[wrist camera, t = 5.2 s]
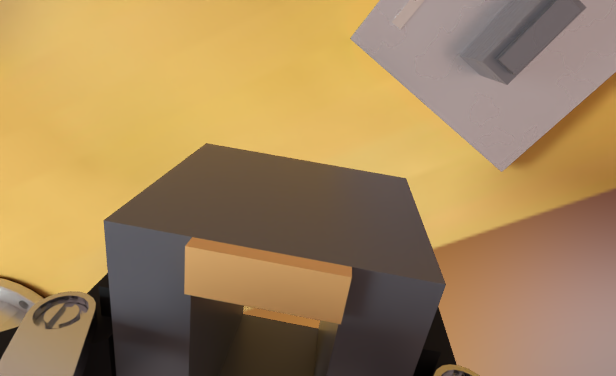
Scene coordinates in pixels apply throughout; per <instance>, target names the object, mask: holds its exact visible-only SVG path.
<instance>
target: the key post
mask: <svg viewBox="0 0 616 376" xmlns="http://www.w3.org/2000/svg"><path fill="white" fill-rule="evenodd" d="M350 39H351V40H352V41H353V42H355V43H356V44H357V45H358V46H359V47H360V48H361V49H363V50H364V51H365V52H366V53H367V54H368V55H369V56H371V57H372V58H373V59H374V60H375V61H376V62H377V63H378V64H380V65H381V66H382V67H383V68H384V69H385V70H386V71H388V72H389V73H390V74H391V75H392V76H393V77H394V78H396V79H397V80H398V81H399V82H400V83H401V84H402V85H403V86H405V87H406V88H407V89H408V90H409V91H410V92H411V93H413V94H414V95H415V96H416V97H417V98H418V99H419V100H421V101H422V102H423V103H424V104H425V105H426V106H427V107H428V108H430V109H431V110H432V111H433V112H434V113H435V114H436V115H438V116H439V117H440V118H441V119H442V120H443V121H444V122H446V123H447V124H448V125H449V126H450V127H451V128H452V129H453V130H455V131H456V132H457V133H458V134H459V135H460V136H461V137H463V138H464V139H465V140H466V141H467V142H468V143H469V144H471V145H472V146H473V147H474V148H475V149H476V150H477V151H478V152H480V153H481V154H482V155H483V156H484V157H485V158H486V159H488V160H489V161H490V162H491V163H492V164H493V165H494V166H495V167H497V168H498V169H499V170H500V171H501V172H502V171H503V170H504V169H506V168H507V167H508V166H509V165H510V164H511V163H512V162H514V161H515V160H516V159H517V158H518V157H519V156H520V155H522V154H523V153H524V152H525V151H526V150H527V149H528V148H529V147H531V146H532V145H533V144H534V143H535V142H536V141H537V140H539V139H540V138H541V137H542V136H543V135H544V134H545V133H547V132H548V131H549V130H550V129H551V128H552V127H553V126H555V125H556V124H557V123H558V122H559V121H560V120H561V119H563V118H564V117H565V116H566V115H567V114H568V113H569V112H571V111H572V110H573V109H574V108H575V107H576V106H577V105H579V104H580V103H581V102H582V101H583V100H584V99H585V98H587V97H588V96H589V95H590V94H591V93H592V92H593V91H594V90H596V89H597V88H598V87H599V86H600V85H601V84H602V83H604V82H605V81H606V80H607V79H608V78H609V77H610V76H612V75H613V74H614V73H615V72H616V0H380V1H379V2H378V3H377V5H376V6H375V7H374V9H373V10H372V11H371V12H370V14H369V15H368V16H367V18H366V19H365V20H364V21H363V23H362V24H361V25H360V26H359V28H358V29H357V30H356V32H355V33H354V34H353V35H352V37H351V38H350Z"/></svg>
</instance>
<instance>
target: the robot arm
mask: <svg viewBox="0 0 616 376" xmlns="http://www.w3.org/2000/svg"><path fill="white" fill-rule="evenodd" d="M0 376H116V365H115V352H114V340H113V328H112V316H111V303H110V291H109V279H108V273H107V274H106V275H105V276H104V277H103V278H102V279H101V280H100V281H99V282H98V283H97V284H96V285H95V286H94V287H93V288H92V289H91V290H90V291H89V292H88V293H87V294H86V293H82V292H71V291H70V292H63V293H58V294H55V295H51V296H49V297H47V298H43V297H41V296H40V295H38V294H37V293H35V292H34V291H32V290H30V289H28V288H26V287H24V286H22V285H20V284H18V283H15V282H12V281H9V280H6V279H1V278H0ZM413 376H479V375H478V374H476V373H475V372H473V371H471V370H469V369H467V368H464V367H462V366H459V365H456V361H455V358H454V355H453V352H452V349H451V346H450V342H449V339H448V337H447V333H446V330H445V327H444V324H443V320H442V317H441V314H440V311H439V308H437V310H436V313H435V316H434V319H433V321H432V324H431V327H430V330H429V332H428V335H427V338H426V341H425V343H424V346H423V349H422V352H421V354H420V357H419V360H418V363H417V366H416V368H415V371H414V374H413Z"/></svg>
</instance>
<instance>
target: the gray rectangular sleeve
mask: <svg viewBox="0 0 616 376" xmlns="http://www.w3.org/2000/svg"><path fill="white" fill-rule="evenodd" d="M104 230H105V242H106V255H107V267H108V279H109V291H110V303H111V316H112V328H113V340H114V352H115V365H116V376H413V374H414V371H415V368H416V366H417V363H418V360H419V357H420V354H421V352H422V349H423V346H424V343H425V341H426V338H427V335H428V332H429V330H430V327H431V324H432V321H433V319H434V316H435V313H436V310H437V308H438V305H439V302H440V299H441V297H442V294H443V291H444V288H445V285H446V284H445V281H444V279H443V276H442V273H441V270H440V268H439V265H438V262H437V260H436V257H435V254H434V252H433V249H432V246H431V244H430V241H429V238H428V236H427V233H426V230H425V228H424V225H423V223H422V220H421V217H420V215H419V212H418V209H417V207H416V204H415V201H414V199H413V196H412V193H411V191H410V188H409V185H408V183H407V180H406V178H400V177H395V176H389V175H383V174H378V173H372V172H366V171H361V170H355V169H349V168H344V167H338V166H332V165H327V164H321V163H315V162H310V161H304V160H298V159H292V158H287V157H281V156H275V155H270V154H264V153H258V152H253V151H247V150H241V149H236V148H230V147H224V146H219V145H213V144H207V143H206V144H205V145H204V146H202V147H201V148H200V149H198V150H197V151H196V152H194V153H193V154H192V155H190V156H189V157H188V158H186V159H185V160H184V161H182V162H181V163H180V164H178V165H177V166H176V167H174V168H173V169H172V170H170V171H169V172H168V173H166V174H165V175H164V176H162V177H161V178H160V179H158V180H157V181H156V182H154V183H153V184H152V185H150V186H149V187H148V188H146V189H145V190H144V191H142V192H141V193H140V194H138V195H137V196H136V197H134V198H133V199H132V200H130V201H129V202H128V203H126V204H125V205H124V206H122V207H121V208H120V209H118V210H117V211H116V212H114V213H113V214H112V215H110V216H109V217H108V218H106V219H105V220H104ZM244 306H249V307H254V308H259V309H264V310H269V311H274V312H279V313H285V314H290V315H295V316H300V317H306V318H310V319H315V320H320V325H319V329H317V328H311V327H307V326H302V325H296V324H291V323H286V322H281V321H276V320H271V319H266V318H261V317H256V316H250V315H245V314H243V307H244Z"/></svg>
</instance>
